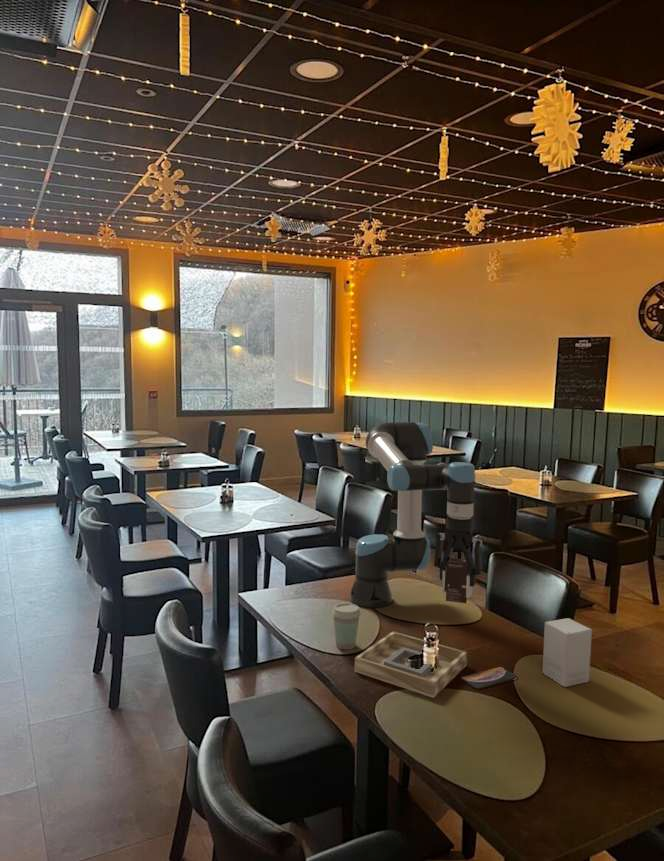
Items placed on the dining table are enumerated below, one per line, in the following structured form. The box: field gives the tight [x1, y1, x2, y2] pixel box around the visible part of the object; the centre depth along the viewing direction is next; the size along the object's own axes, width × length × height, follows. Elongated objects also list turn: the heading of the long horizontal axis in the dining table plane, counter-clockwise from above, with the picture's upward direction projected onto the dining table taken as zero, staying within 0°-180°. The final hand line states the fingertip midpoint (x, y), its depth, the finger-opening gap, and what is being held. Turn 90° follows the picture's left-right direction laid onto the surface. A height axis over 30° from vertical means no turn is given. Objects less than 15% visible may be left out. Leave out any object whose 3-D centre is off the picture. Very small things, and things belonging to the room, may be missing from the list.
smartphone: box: [460, 666, 518, 691], centre depth 175 cm, size 8×1×15 cm
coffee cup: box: [331, 602, 361, 651], centre depth 193 cm, size 8×8×12 cm
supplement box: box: [542, 617, 593, 688], centre depth 176 cm, size 9×9×15 cm
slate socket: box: [384, 647, 439, 678], centre depth 180 cm, size 12×12×2 cm
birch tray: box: [354, 630, 468, 699], centre depth 180 cm, size 22×24×4 cm
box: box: [445, 557, 469, 604], centre depth 186 cm, size 6×4×12 cm
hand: (456, 593), depth 186 cm, fingers closed on box, 7 cm apart
